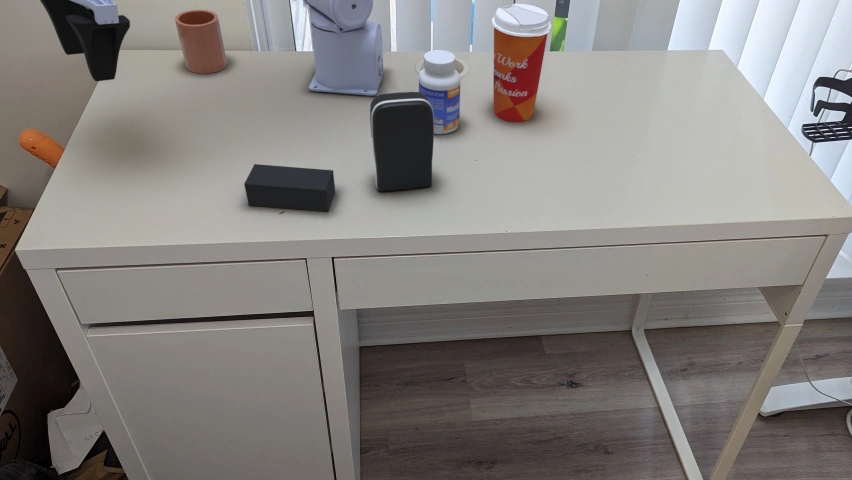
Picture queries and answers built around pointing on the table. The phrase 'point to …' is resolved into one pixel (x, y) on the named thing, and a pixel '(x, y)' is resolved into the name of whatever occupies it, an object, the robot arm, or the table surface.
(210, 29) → the terracotta cup
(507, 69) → the paper cup
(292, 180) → the black block
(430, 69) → the pill bottle
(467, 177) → the table surface
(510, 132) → the table surface
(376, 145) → the battery charger
